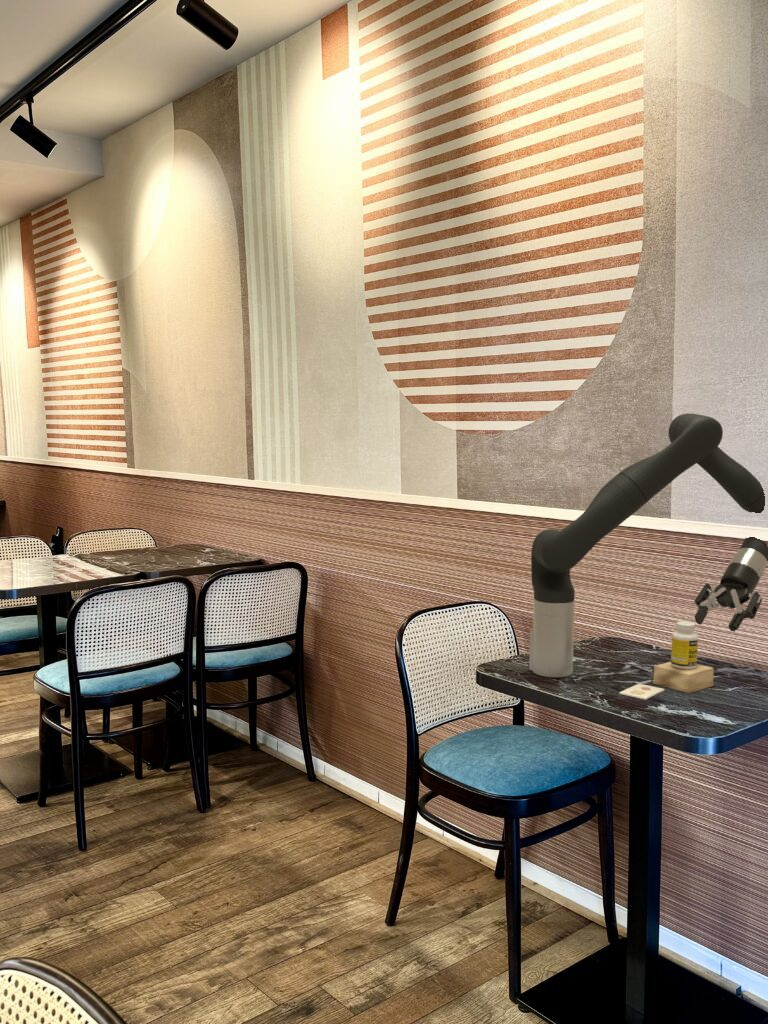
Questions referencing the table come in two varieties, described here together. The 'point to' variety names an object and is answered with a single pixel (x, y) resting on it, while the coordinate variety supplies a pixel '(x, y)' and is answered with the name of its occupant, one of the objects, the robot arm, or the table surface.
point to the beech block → (683, 677)
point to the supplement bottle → (684, 646)
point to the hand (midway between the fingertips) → (714, 625)
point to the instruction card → (641, 691)
